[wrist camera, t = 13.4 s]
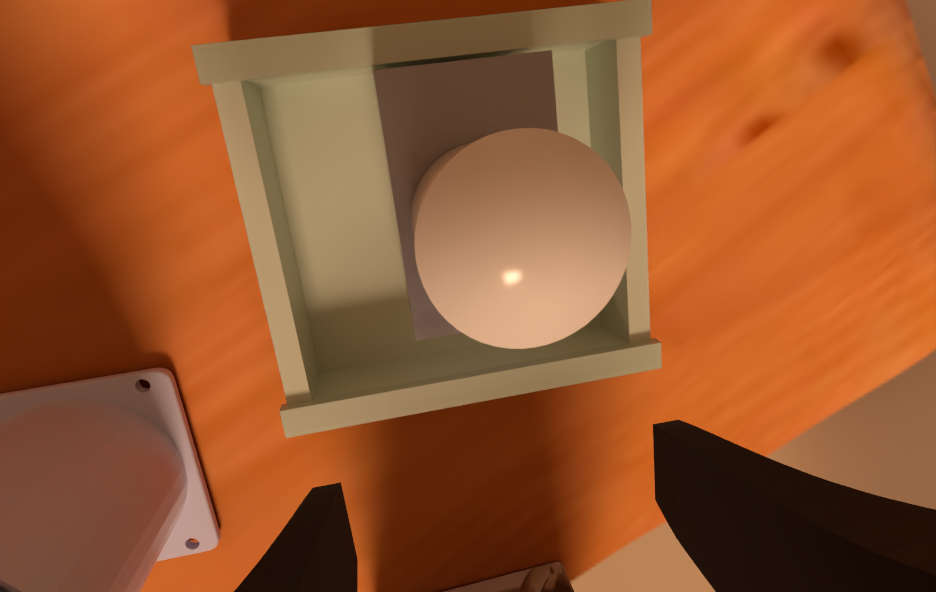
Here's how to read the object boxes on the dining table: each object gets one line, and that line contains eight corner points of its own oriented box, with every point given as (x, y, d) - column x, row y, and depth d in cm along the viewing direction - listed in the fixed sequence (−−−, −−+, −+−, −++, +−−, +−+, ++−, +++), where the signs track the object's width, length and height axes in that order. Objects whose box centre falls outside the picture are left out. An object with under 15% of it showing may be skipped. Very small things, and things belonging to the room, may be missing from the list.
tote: (300, 392, 22) (285, 438, 19) (225, 64, 19) (190, 45, 15) (620, 335, 24) (661, 368, 20) (604, 23, 20) (651, -3, 17)
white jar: (416, 307, 16) (430, 365, 12) (392, 143, 15) (399, 142, 10) (567, 283, 17) (635, 330, 12) (557, 124, 15) (628, 115, 11)
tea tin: (407, 296, 21) (416, 340, 16) (374, 89, 19) (373, 70, 14) (529, 277, 22) (571, 313, 17) (509, 73, 20) (551, 50, 15)
